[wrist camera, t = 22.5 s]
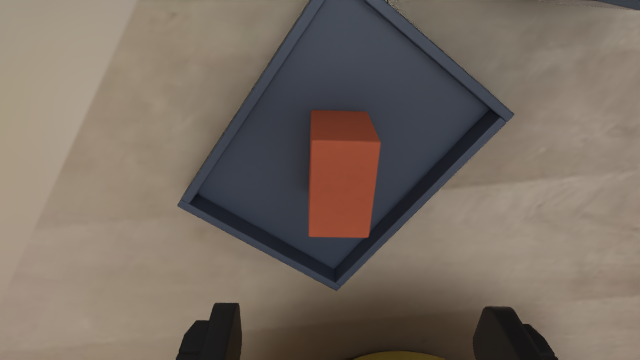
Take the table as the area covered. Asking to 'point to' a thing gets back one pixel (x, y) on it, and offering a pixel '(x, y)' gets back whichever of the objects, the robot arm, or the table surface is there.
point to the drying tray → (342, 95)
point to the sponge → (342, 173)
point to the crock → (601, 3)
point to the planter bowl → (398, 356)
